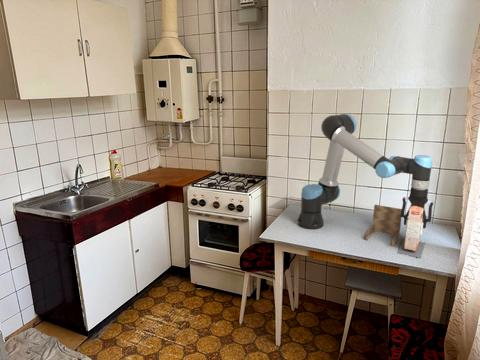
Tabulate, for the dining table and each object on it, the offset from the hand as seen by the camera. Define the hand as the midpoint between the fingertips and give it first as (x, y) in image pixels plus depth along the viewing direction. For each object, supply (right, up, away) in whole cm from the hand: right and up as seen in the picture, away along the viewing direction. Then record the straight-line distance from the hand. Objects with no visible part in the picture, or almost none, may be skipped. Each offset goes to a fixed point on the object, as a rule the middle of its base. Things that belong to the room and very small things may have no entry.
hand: (413, 232), depth 171 cm
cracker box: (0, -7, +2) cm, 7 cm away
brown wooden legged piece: (-9, -5, +15) cm, 18 cm away
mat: (0, -9, +2) cm, 9 cm away
